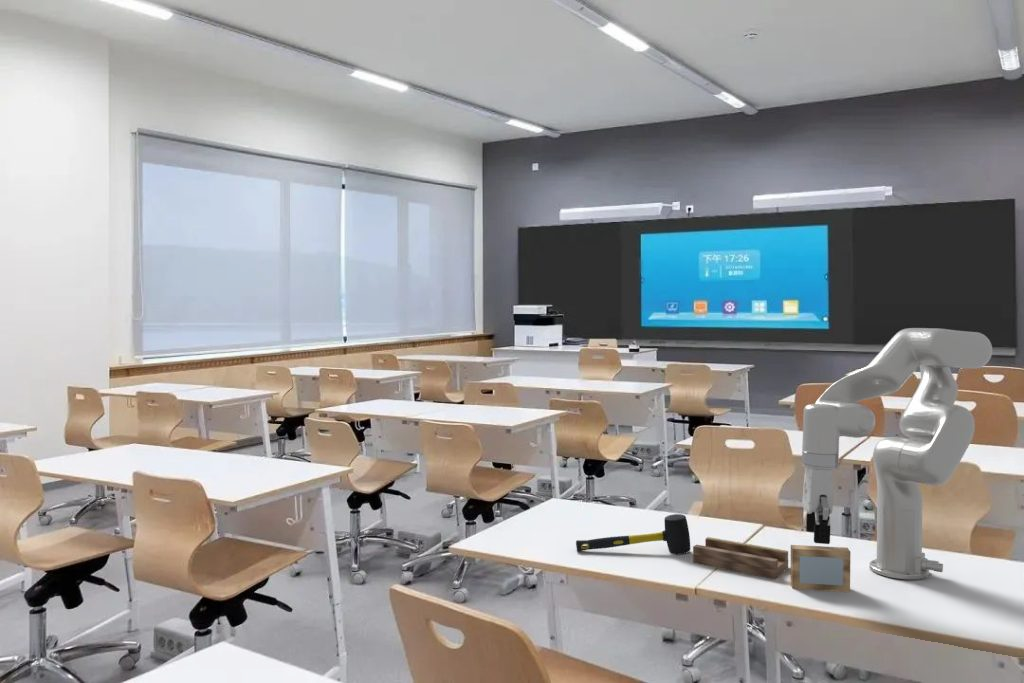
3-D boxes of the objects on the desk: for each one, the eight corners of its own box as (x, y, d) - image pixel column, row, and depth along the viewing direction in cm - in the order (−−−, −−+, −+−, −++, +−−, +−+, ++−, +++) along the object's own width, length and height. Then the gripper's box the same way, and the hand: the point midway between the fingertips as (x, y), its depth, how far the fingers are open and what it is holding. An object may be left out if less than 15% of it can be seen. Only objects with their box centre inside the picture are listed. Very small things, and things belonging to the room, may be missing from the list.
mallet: (576, 555, 199) (576, 518, 199) (575, 548, 205) (575, 512, 205) (692, 556, 198) (692, 518, 198) (688, 549, 204) (688, 512, 204)
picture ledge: (788, 567, 189) (788, 550, 188) (774, 578, 181) (774, 560, 180) (708, 552, 200) (708, 536, 200) (692, 562, 192) (692, 545, 192)
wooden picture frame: (847, 587, 175) (847, 547, 175) (850, 592, 172) (850, 551, 171) (790, 584, 177) (790, 544, 177) (792, 589, 174) (792, 549, 174)
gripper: (796, 453, 183) (793, 526, 183) (808, 466, 166) (806, 546, 166) (830, 454, 181) (827, 528, 182) (846, 468, 164) (844, 549, 165)
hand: (817, 537), depth 174 cm, fingers open, 9 cm apart
